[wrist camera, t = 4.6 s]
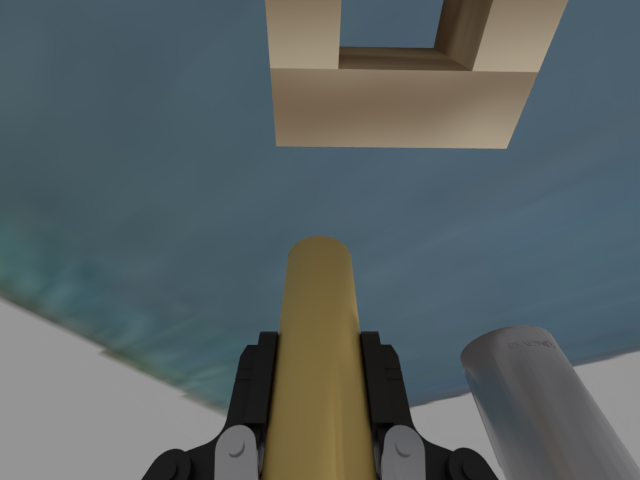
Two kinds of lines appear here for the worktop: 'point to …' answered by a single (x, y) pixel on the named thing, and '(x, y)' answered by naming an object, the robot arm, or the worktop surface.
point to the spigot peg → (319, 373)
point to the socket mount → (407, 76)
